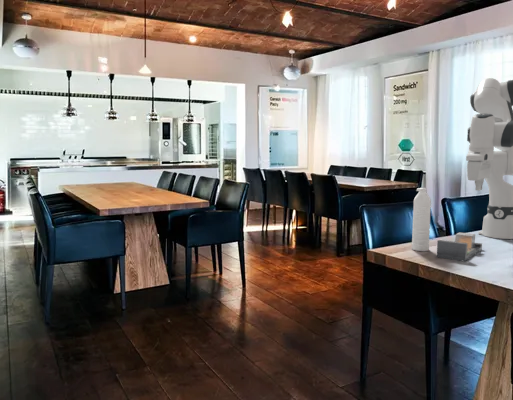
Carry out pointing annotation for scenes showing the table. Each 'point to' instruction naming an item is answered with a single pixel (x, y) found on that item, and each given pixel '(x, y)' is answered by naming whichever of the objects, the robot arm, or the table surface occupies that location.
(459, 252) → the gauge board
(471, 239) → the tan block
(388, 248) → the table surface
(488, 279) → the table surface
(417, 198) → the water bottle
